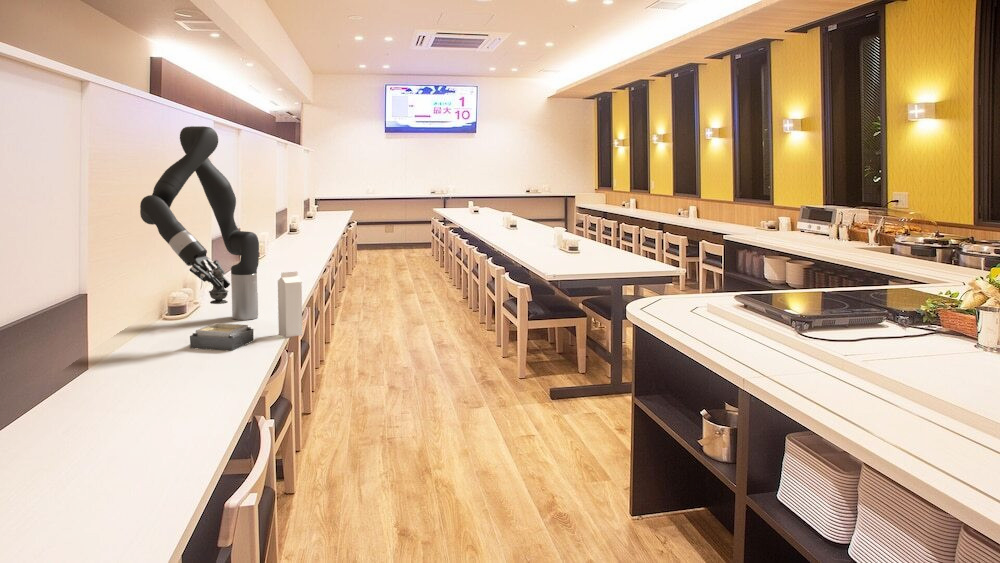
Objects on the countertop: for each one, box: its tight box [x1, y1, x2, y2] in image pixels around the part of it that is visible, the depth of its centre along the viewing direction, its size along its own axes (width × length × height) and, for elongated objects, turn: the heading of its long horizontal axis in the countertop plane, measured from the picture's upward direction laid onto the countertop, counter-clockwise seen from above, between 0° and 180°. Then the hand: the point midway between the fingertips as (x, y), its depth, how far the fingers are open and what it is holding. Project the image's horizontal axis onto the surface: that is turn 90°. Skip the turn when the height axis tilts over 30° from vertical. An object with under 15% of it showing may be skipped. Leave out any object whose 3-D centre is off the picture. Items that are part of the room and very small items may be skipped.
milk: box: [277, 271, 303, 338], centre depth 236 cm, size 6×6×22 cm
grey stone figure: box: [208, 266, 229, 305], centre depth 219 cm, size 6×6×12 cm
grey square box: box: [189, 322, 254, 352], centre depth 221 cm, size 14×14×6 cm
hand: (224, 287), depth 219 cm, fingers closed on grey stone figure, 3 cm apart
